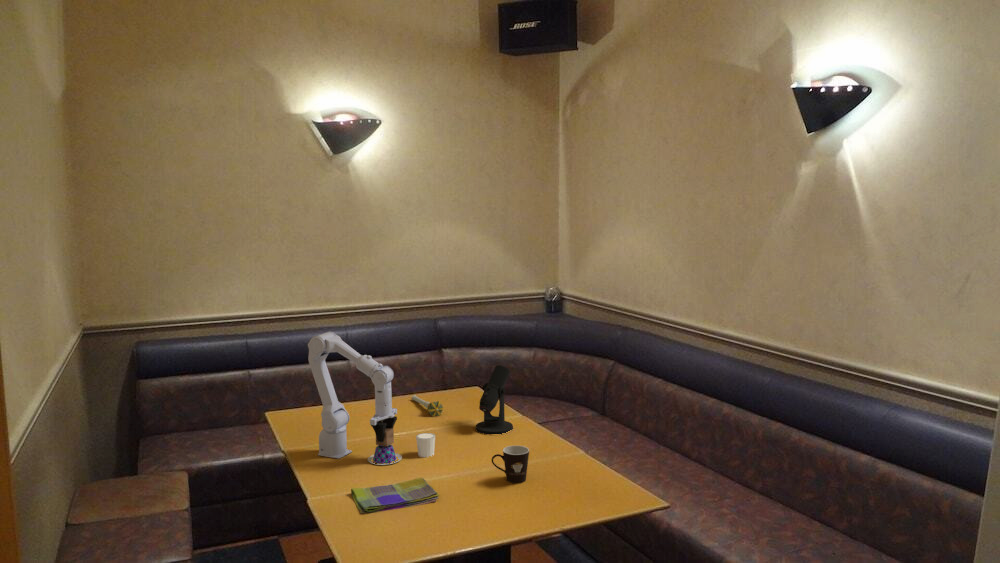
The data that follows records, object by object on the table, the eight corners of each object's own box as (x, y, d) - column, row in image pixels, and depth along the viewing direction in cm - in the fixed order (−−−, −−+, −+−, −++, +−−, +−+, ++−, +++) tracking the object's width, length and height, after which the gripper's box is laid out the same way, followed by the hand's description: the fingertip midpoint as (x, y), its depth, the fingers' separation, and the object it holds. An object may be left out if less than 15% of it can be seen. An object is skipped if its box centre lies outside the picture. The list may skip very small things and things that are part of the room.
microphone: (521, 426, 293) (521, 365, 290) (498, 438, 278) (498, 374, 275) (490, 420, 301) (490, 360, 298) (466, 431, 286) (466, 369, 283)
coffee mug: (532, 476, 240) (532, 447, 239) (524, 486, 232) (524, 456, 231) (499, 472, 244) (499, 443, 243) (490, 481, 236) (490, 451, 235)
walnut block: (375, 444, 254) (375, 430, 254) (382, 440, 258) (382, 427, 258) (386, 446, 253) (386, 432, 252) (393, 442, 257) (393, 428, 256)
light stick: (421, 389, 332) (445, 401, 305) (421, 403, 332) (446, 416, 305) (406, 391, 329) (430, 404, 302) (407, 405, 329) (430, 419, 302)
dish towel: (349, 494, 228) (349, 485, 228) (424, 482, 237) (424, 474, 237) (361, 517, 212) (361, 507, 212) (441, 503, 221) (441, 494, 221)
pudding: (376, 469, 248) (376, 454, 247) (362, 458, 258) (361, 444, 257) (407, 462, 255) (407, 447, 254) (392, 452, 265) (392, 438, 264)
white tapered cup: (432, 458, 257) (432, 439, 256) (414, 457, 258) (413, 438, 257) (438, 451, 264) (437, 433, 263) (419, 450, 265) (419, 432, 264)
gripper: (381, 408, 245) (382, 447, 247) (404, 397, 259) (404, 434, 260) (364, 406, 248) (365, 444, 250) (387, 395, 261) (388, 431, 263)
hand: (384, 439), depth 255 cm, fingers closed on walnut block, 4 cm apart
